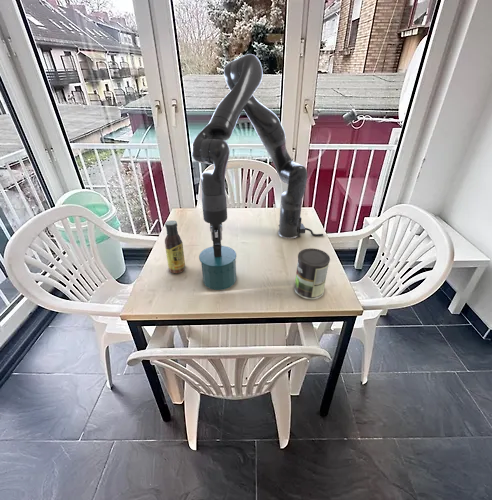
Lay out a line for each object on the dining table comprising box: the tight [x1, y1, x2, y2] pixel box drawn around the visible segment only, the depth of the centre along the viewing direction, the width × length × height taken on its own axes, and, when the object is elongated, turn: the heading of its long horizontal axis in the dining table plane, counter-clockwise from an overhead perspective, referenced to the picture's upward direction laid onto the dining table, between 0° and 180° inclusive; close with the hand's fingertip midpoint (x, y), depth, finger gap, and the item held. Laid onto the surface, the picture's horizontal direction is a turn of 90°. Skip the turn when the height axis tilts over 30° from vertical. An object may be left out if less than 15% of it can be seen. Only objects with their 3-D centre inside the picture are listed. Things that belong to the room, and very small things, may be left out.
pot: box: [200, 258, 237, 291], centre depth 101 cm, size 12×12×10 cm
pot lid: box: [198, 242, 237, 267], centre depth 97 cm, size 13×13×6 cm
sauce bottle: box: [164, 220, 186, 274], centre depth 105 cm, size 7×6×20 cm
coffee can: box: [294, 247, 331, 300], centre depth 96 cm, size 10×10×14 cm
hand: (217, 249), depth 97 cm, fingers open, 8 cm apart
